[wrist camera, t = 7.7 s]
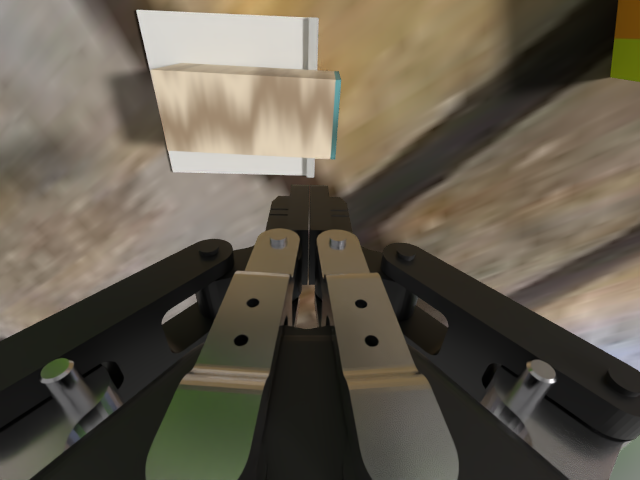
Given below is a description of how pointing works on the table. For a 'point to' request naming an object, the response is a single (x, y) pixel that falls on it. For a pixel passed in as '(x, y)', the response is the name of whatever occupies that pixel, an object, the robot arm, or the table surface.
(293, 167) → the mat
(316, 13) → the table surface
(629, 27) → the puzzle toy
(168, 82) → the maple block
